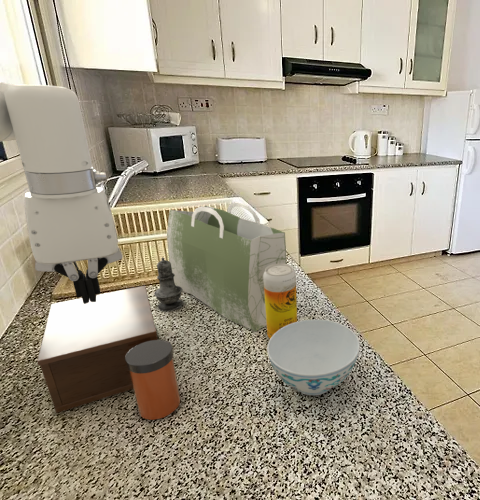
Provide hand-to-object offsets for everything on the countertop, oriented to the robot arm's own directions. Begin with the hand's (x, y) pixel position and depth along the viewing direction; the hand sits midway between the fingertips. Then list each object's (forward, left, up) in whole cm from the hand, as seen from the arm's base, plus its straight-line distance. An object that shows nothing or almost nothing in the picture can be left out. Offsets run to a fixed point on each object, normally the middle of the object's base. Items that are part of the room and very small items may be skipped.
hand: (90, 298), depth 58 cm
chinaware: (+31, +16, -15) cm, 38 cm away
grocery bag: (-3, +31, -15) cm, 35 cm away
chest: (-3, +2, -15) cm, 16 cm away
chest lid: (-3, +2, -6) cm, 7 cm away
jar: (+13, 0, -15) cm, 20 cm away
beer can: (+18, +24, -15) cm, 34 cm away
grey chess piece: (-12, +21, -15) cm, 29 cm away
